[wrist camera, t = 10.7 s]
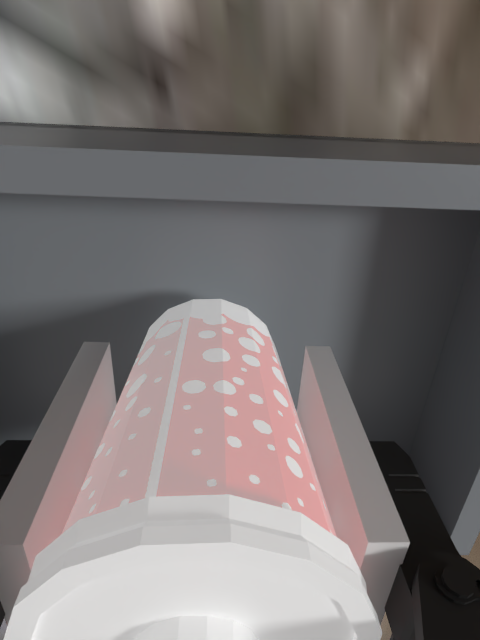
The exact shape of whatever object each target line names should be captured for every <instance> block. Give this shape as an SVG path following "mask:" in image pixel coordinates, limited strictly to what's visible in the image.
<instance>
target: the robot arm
mask: <svg viewBox="0 0 480 640" xmlns="http://www.w3.org/2000/svg"><path fill="white" fill-rule="evenodd" d="M116 405H117V403H116V394H115V385H114V376H113V367H112V359H111V350H110V342H84V343H83V345H82V346H81V348H80V350H79V352H78V354H77V356H76V358H75V360H74V362H73V364H72V365H71V367H70V369H69V371H68V373H67V375H66V377H65V379H64V381H63V382H62V384H61V386H60V388H59V390H58V392H57V394H56V396H55V398H54V400H53V401H52V403H51V405H50V407H49V409H48V411H47V413H46V415H45V417H44V418H43V420H42V422H41V424H40V426H39V428H38V430H37V432H36V434H35V436H34V437H33V439H32V440H6V441H5V442H4V443H3V444H1V445H0V627H1V624H2V622H3V619H4V618H5V621H6V623H7V626H8V623H9V620H10V617H11V614H12V610H13V607H14V604H15V602H16V599H17V597H18V594H19V592H20V589H21V587H23V586H24V585H25V584H26V583H27V582H28V579H29V576H30V573H31V570H32V566H33V563H34V560H35V557H36V555H37V554H38V553H40V552H41V551H42V550H43V549H44V548H46V547H47V546H48V545H49V544H51V543H52V542H53V541H54V540H55V539H57V538H58V537H59V536H60V535H61V534H62V532H63V529H64V527H65V525H66V522H67V520H68V518H69V515H70V513H71V511H72V508H73V506H74V504H75V501H76V499H77V497H78V494H79V492H80V490H81V487H82V485H83V482H84V480H85V478H86V475H87V473H88V471H89V468H90V466H91V464H92V461H93V459H94V457H95V454H96V452H97V450H98V447H99V445H100V443H101V440H102V438H103V436H104V433H105V431H106V428H107V426H108V424H109V421H110V419H111V417H112V414H113V412H114V410H115V407H116ZM297 415H298V418H299V421H300V425H301V428H302V431H303V434H304V437H305V440H306V443H307V446H308V449H309V452H310V456H311V459H312V462H313V465H314V468H315V471H316V474H317V477H318V480H319V483H320V486H321V490H322V493H323V496H324V499H325V502H326V505H327V508H328V511H329V514H330V517H331V521H332V524H333V527H334V530H335V533H336V536H337V538H339V539H340V540H342V541H343V542H344V543H346V544H347V545H348V546H349V548H350V550H351V552H352V554H353V557H354V559H355V561H356V563H357V565H358V567H359V569H360V571H361V574H362V576H363V578H364V580H365V582H366V588H367V595H368V597H369V599H370V601H371V603H372V605H373V607H374V609H375V611H376V613H377V616H378V620H379V623H380V625H381V622H382V619H383V616H384V613H385V611H386V614H387V618H388V621H389V624H390V627H391V631H392V635H391V638H390V640H480V570H479V569H478V568H477V567H476V566H474V565H473V564H472V563H470V562H469V561H468V560H466V559H465V558H462V557H461V556H460V554H459V552H458V551H457V549H456V547H455V545H454V543H453V541H452V539H451V537H450V535H449V533H448V531H447V529H446V527H445V526H444V524H443V522H442V520H441V518H440V516H439V514H438V512H437V510H436V508H435V506H434V504H433V502H432V500H431V498H430V496H429V494H428V493H427V492H426V488H425V486H424V484H423V482H422V480H421V478H419V474H418V472H417V470H416V468H415V466H414V464H413V462H412V460H411V458H410V456H409V455H408V454H407V453H406V452H405V451H404V450H403V449H402V448H401V447H400V446H399V445H398V444H397V443H396V442H394V441H368V438H367V436H366V433H365V431H364V428H363V426H362V423H361V421H360V419H359V416H358V414H357V411H356V409H355V406H354V404H353V401H352V399H351V397H350V394H349V392H348V389H347V387H346V384H345V382H344V379H343V377H342V375H341V372H340V370H339V367H338V365H337V362H336V360H335V357H334V355H333V353H332V350H331V348H330V346H306V347H305V355H304V362H303V369H302V376H301V384H300V391H299V398H298V406H297Z"/></svg>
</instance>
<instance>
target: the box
mask: <svg viewBox="0 0 480 640" xmlns="http://www.w3.org/2000/svg"><path fill="white" fill-rule="evenodd" d="M193 299H223V300H226V301H228V302H231V303H234V304H237V305H240V306H242V307H245V308H247V309H248V310H250V311H251V312H252V313H253V314H254V315H255V316H256V317H258V318H259V319H260V320H261V321H262V322H263V323H264V324H265V325H266V326H267V329H268V331H269V333H270V335H271V338H272V340H273V342H274V344H275V347H276V350H277V353H278V356H279V359H280V363H281V366H282V369H283V372H284V375H285V378H286V381H287V384H288V387H289V390H290V394H291V397H292V400H293V403H294V406H295V409H296V412H297V406H298V398H299V391H300V384H301V376H302V369H303V362H304V355H305V347H306V346H330V348H331V350H332V353H333V355H334V357H335V360H336V362H337V365H338V367H339V370H340V372H341V375H342V377H343V379H344V382H345V384H346V387H347V389H348V392H349V394H350V397H351V399H352V401H353V404H354V406H355V409H356V411H357V414H358V416H359V419H360V421H361V423H362V426H363V428H364V431H365V433H366V436H367V438H368V441H394V442H396V443H397V444H398V445H399V446H400V447H401V448H402V449H403V450H404V451H405V452H406V453H407V454H408V455H409V456H410V458H411V460H412V462H413V464H414V466H415V468H416V470H417V472H418V474H419V478H421V480H422V482H423V484H424V486H425V488H426V492H427V493H428V494H429V496H430V498H431V500H432V502H433V504H434V506H435V508H436V510H437V512H438V514H439V516H440V518H441V520H442V522H443V524H444V526H445V527H446V529H447V531H448V533H449V535H450V537H451V539H452V541H453V543H454V545H455V547H456V549H457V551H458V552H459V554H460V555H469V553H470V551H471V549H472V547H473V544H474V542H475V540H476V538H477V536H478V534H479V532H480V143H458V142H435V141H413V140H391V139H369V138H346V137H324V136H302V135H280V134H257V133H235V132H213V131H191V130H168V129H146V128H124V127H102V126H79V125H57V124H35V123H13V122H0V445H1V444H3V443H4V442H5V441H6V440H32V439H33V437H34V436H35V434H36V432H37V430H38V428H39V426H40V424H41V422H42V420H43V418H44V417H45V415H46V413H47V411H48V409H49V407H50V405H51V403H52V401H53V400H54V398H55V396H56V394H57V392H58V390H59V388H60V386H61V384H62V382H63V381H64V379H65V377H66V375H67V373H68V371H69V369H70V367H71V365H72V364H73V362H74V360H75V358H76V356H77V354H78V352H79V350H80V348H81V346H82V345H83V343H84V342H110V350H111V359H112V367H113V376H114V385H115V394H116V403H118V400H119V398H120V396H121V393H122V391H123V389H124V386H125V384H126V382H127V379H128V377H129V375H130V372H131V370H132V367H133V365H134V363H135V360H136V358H137V356H138V353H139V351H140V349H141V346H142V344H143V342H144V339H145V337H146V335H147V332H148V330H149V328H150V326H151V325H152V324H153V323H154V322H155V321H156V320H157V319H158V318H159V317H160V316H161V315H162V314H163V313H164V312H165V311H167V310H168V309H170V308H172V307H175V306H177V305H180V304H182V303H185V302H188V301H190V300H193Z"/></svg>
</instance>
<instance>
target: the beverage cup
mask: <svg viewBox="0 0 480 640" xmlns="http://www.w3.org/2000/svg"><path fill="white" fill-rule="evenodd" d="M381 636H382V630H381V627H380V623H379V620H378V616H377V613H376V611H375V609H374V607H373V605H372V603H371V601H370V599H369V597H368V595H367V588H366V582H365V580H364V578H363V576H362V574H361V571H360V569H359V567H358V565H357V563H356V561H355V559H354V557H353V554H352V552H351V550H350V548H349V546H348V545H347V544H346V543H344V542H343V541H342V540H340V539H339V538H337V536H336V533H335V530H334V527H333V524H332V521H331V517H330V514H329V511H328V508H327V505H326V502H325V499H324V496H323V493H322V490H321V486H320V483H319V480H318V477H317V474H316V471H315V468H314V465H313V462H312V459H311V456H310V452H309V449H308V446H307V443H306V440H305V437H304V434H303V431H302V428H301V425H300V421H299V418H298V415H297V412H296V409H295V406H294V403H293V400H292V397H291V394H290V390H289V387H288V384H287V381H286V378H285V375H284V372H283V369H282V366H281V363H280V359H279V356H278V353H277V350H276V347H275V344H274V342H273V340H272V338H271V335H270V333H269V331H268V329H267V326H266V325H265V324H264V323H263V322H262V321H261V320H260V319H259V318H258V317H256V316H255V315H254V314H253V313H252V312H251V311H250V310H248V309H247V308H245V307H242V306H240V305H237V304H234V303H231V302H228V301H226V300H223V299H193V300H190V301H188V302H185V303H182V304H180V305H177V306H175V307H172V308H170V309H168V310H167V311H165V312H164V313H163V314H162V315H161V316H160V317H159V318H158V319H157V320H156V321H155V322H154V323H153V324H152V325H151V326H150V328H149V330H148V332H147V335H146V337H145V339H144V342H143V344H142V346H141V349H140V351H139V353H138V356H137V358H136V360H135V363H134V365H133V367H132V370H131V372H130V375H129V377H128V379H127V382H126V384H125V386H124V389H123V391H122V393H121V396H120V398H119V400H118V403H117V405H116V407H115V410H114V412H113V414H112V417H111V419H110V421H109V424H108V426H107V428H106V431H105V433H104V436H103V438H102V440H101V443H100V445H99V447H98V450H97V452H96V454H95V457H94V459H93V461H92V464H91V466H90V468H89V471H88V473H87V475H86V478H85V480H84V482H83V485H82V487H81V490H80V492H79V494H78V497H77V499H76V501H75V504H74V506H73V508H72V511H71V513H70V515H69V518H68V520H67V522H66V525H65V527H64V529H63V532H62V534H61V535H60V536H59V537H58V538H57V539H55V540H54V541H53V542H52V543H51V544H49V545H48V546H47V547H46V548H44V549H43V550H42V551H41V552H40V553H38V554H37V555H36V557H35V560H34V563H33V566H32V570H31V573H30V576H29V579H28V582H27V583H26V584H25V585H24V586H23V587H21V589H20V592H19V594H18V597H17V599H16V602H15V604H14V607H13V610H12V614H11V617H10V620H9V623H8V627H7V630H6V633H5V637H4V640H380V639H381Z"/></svg>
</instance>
